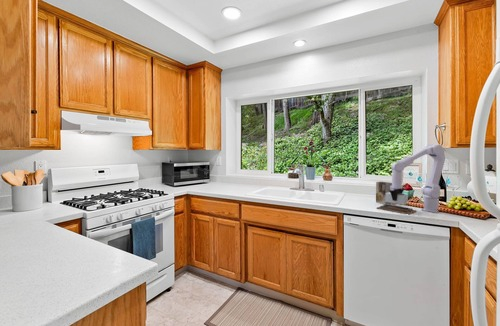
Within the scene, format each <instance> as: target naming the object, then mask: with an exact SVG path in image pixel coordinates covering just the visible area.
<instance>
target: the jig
mask: <svg viewBox="0 0 500 326" xmlns="http://www.w3.org/2000/svg"><path fill="white" fill-rule="evenodd" d="M376 209H377V210H382V211H388V212H392V213H396V214H404V215H407V214H408V215H411V213H412V214H414V213H416V212H417V210H416V209H413V208H411V207H406V206H401V205H400V206H399V205H394V204H393V205H392V204H382V205H380V206H378V207H376Z"/></svg>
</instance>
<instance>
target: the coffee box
mask: <svg viewBox="0 0 500 326" xmlns="http://www.w3.org/2000/svg"><path fill="white" fill-rule="evenodd" d="M390 186H392V182H387V181H376V182H375V202H376V203H378V204H382V205H386V204H388V205H392V203H390V202H385V193H388V192H390V191H389V190H390Z"/></svg>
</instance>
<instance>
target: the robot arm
mask: <svg viewBox="0 0 500 326" xmlns="http://www.w3.org/2000/svg"><path fill="white" fill-rule="evenodd" d="M445 150H446V149H445V148H444V147H443V146H442V145H440V144H435V145H433V144H428V145H426V146H423V147H422V148H421V149H420V150H418V151H416V152H415V153H414V154H412V155H406V156H405V155H404V156H403V158H401V159H400V160H399V159H398V160H397V161H396V162H393V163H391V166H390V169H391V173H392V174H391V183H392V186H390V190H389V191H390V193H391V196H392V200H394V201H396V200H397V195H398V194H399V193H402V194H403V192H404V188H403V187H404V186H403V185H402V184H403V171H404V169H405V168H407V167H409V166H410V165H412V164H414V161H415V160H417V159H420V158H421V157H423V156H425V155H428V156H430V157H431V158H432V160H433V164H432V168H431V171H430V175H429V178H428V182H427V183H426V184H425V185H424V187H423V188H422V191H421V192H422V195H423V196H424V197H423V198H424V200H423V201H424V202H423V208H422V209H421V211H424V212H430V213H438V212H439V211H438V210H437V209H438V208H440V207H439V206H440V205H439V204H440V201H439V198H440V196H441V186H440V185H439V184H440V179H441V176H442V173H443V169H444V165H445V161H446V155H445Z"/></svg>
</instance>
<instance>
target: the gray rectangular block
mask: <svg viewBox="0 0 500 326" xmlns="http://www.w3.org/2000/svg"><path fill="white" fill-rule="evenodd" d="M408 200H409V198H408V194H405V193H403V192H402V193H399V194H398V195H397V200H396V201H394V200H392V196H391V193H390V192H388V193H385V202H390V203H391V204H396V205H397V204H398V205H403V206H405V205H407V204H408Z"/></svg>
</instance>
